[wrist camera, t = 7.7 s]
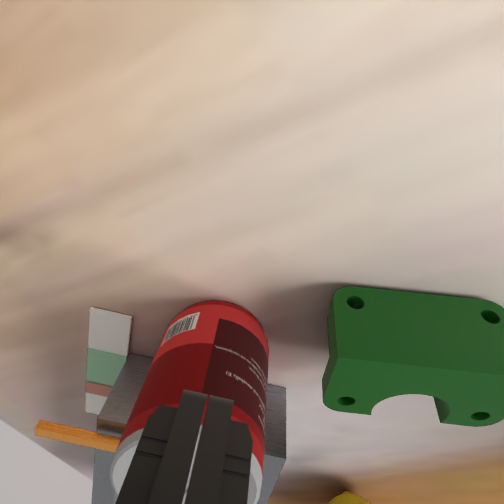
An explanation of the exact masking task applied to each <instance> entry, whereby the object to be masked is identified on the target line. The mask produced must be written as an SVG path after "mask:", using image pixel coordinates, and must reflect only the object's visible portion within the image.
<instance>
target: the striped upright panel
mask: <svg viewBox="0 0 504 504" xmlns="http://www.w3.org/2000/svg"><path fill="white" fill-rule="evenodd" d="M131 324H132V316H129V315H125V314H121V313H116V312H112V311H107V310H103V309H99V308H94V307H91V308H90V314H89V337H88V348H87V370H86V404H85V412H89V413H93V414H98V415H99V414H100V412H101V410H102V408H103V406H104V404H105V402H106V400H107V398H108V396H109V394H110V392H111V390H112V388H113V386H114V384H115V381H116V379H117V377H118V375H119V373H120V371H121V369H122V367H123V365H124V363H125V361H126V359H127V357H128V352H129V343H130V333H131Z"/></svg>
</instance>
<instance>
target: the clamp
mask: <svg viewBox="0 0 504 504" xmlns="http://www.w3.org/2000/svg"><path fill="white" fill-rule="evenodd" d="M327 325H328V341H329V356H330V357H329V360H328V363H327V366H326V369H325V372H324V375H323V378H322V390H323V403H324V405H325V406H327V407H328V408H330V409H332V410H335V411H340V412H349V413H358V414H367V415H371V410H372V408H373V407H374V406H375V405H376V404H377V403H378V402H380V401H382V400H384V399H386V398H389V397H392V396H397V395H403V394H424V395H429V396H433V397H434V401H435V404H436V408H437V412H438V416H439V419H440V423H447V424H456V425H465V426H475V427H478V426H487V425H492V424H495V423H497V422H499V421H501V420H502V419H503V418H504V308H503V307H501V306H500V305H498V304H496V303H494V302H491V301H488V300H482V299H472V298H463V297H453V296H443V295H434V294H424V293H414V292H405V291H395V290H385V289H376V288H366V287H356V286H346V287H342V288H340V289H338V290H337V291H336V292H335V294H334V297H333V300H332V304H331V307H330V310H329V314H328V317H327Z"/></svg>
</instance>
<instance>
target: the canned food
mask: <svg viewBox="0 0 504 504" xmlns="http://www.w3.org/2000/svg"><path fill="white" fill-rule="evenodd" d="M268 356H269V347H268V340H267V338H266V335H265V332H264V330H263V328H262V326H261V324H260V323H259V321H258V320H257V319H256V318H255V317H254V316H253V315H252V314H251V313H250V312H249V311H247V310H246V309H244V308H243V307H240V306H238V305H236V304H233V303H229V302H225V301H204V302H200V303H197V304H194V305H192V306H190V307H188V308H186V309H184V310H183V311H182V312H181V313H179V314H178V315H177V316H176V317H175V318H174V319H173V320H172V322H171V323H170V324H169V325H168V327H167V329H166V331H165V333H164V335H163V338H162V340H161V343H160V345H159V347H158V350H157V352H156V355H155V357H154V359H153V362H152V364H151V367H150V369H149V371H148V374H147V376H146V378H145V381H144V383H143V386H142V388H141V390H140V393H139V395H138V398H137V400H136V402H135V405H134V407H133V409H132V412H131V414H130V417H129V419H128V421H127V424H126V426H125V429H124V431H123V433H122V436H121V439H120V442H119V444H118V447H117V449H116V451H115V454H114V459H113V462H112V464H111V470H110V479H111V484H112V486H113V488H114V491H115V493H116V494H117V495H119V492H120V490H121V487H122V485H123V482H124V479H125V477H126V474H127V471H128V469H129V466H130V464H131V461H132V458H133V456H134V454H135V451H136V448H137V445H138V443H139V440H140V438H141V435H142V432H143V429H144V427H145V424H146V422H147V419H148V417H149V416H150V415H151V414H152V413H153V412H154V411H155V410H156V409H157V408H158V407H159V406H160V405H161V404H162V405H166V406H171V407H175V408H178V406H179V402H180V399H181V396H182V393H183V390H184V389H185V390H190V391H194V392H199V393H203V394H208V395H207V400H206V404H205V408H204V412H203V417H202V421H201V425H200V429H199V434H198V438H197V442H196V446H195V451H194V455H193V459H192V463H191V468H190V472H189V476H188V480H187V485H186V489H185V493H184V497H183V502H182V504H184V503H185V499H186V494H187V490H188V486H189V481H190V477H191V472H192V468H193V464H194V459H195V455H196V451H197V446H198V442H199V438H200V434H201V429H202V425H203V421H204V417H205V413H206V409H207V405H208V400H209V396H210V395H213V396H217V397H221V398H226V399H230V400H234V403H233V410H232V416H231V420H234V421H238V422H242V423H247V424H248V427H249V430H250V433H251V436H252V440H253V447H252V457H251V468H250V476H249V490H248V500H247V504H256V503H257V501H258V499H259V497H260V490H261V485H262V478H263V461H264V446H265V423H266V401H267V379H268Z"/></svg>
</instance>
